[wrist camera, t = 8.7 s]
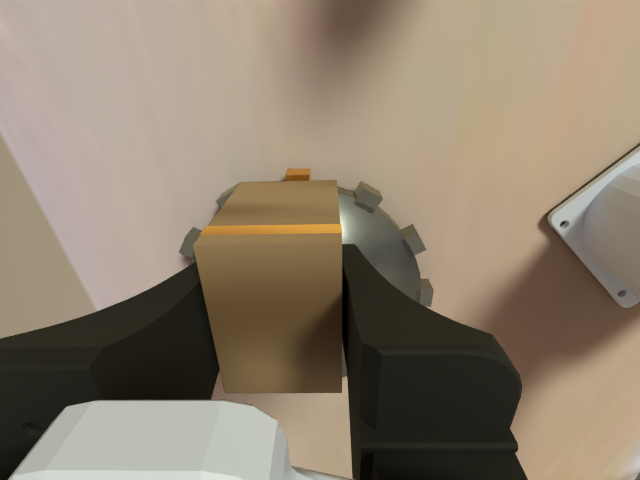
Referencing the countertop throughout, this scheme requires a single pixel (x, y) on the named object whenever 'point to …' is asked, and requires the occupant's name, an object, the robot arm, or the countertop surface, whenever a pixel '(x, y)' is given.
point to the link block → (275, 287)
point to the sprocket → (363, 239)
